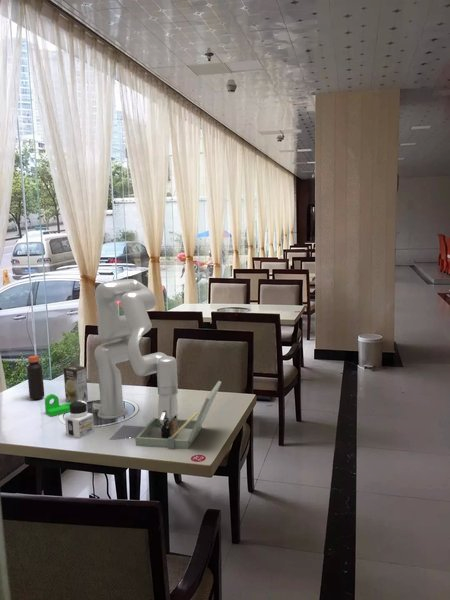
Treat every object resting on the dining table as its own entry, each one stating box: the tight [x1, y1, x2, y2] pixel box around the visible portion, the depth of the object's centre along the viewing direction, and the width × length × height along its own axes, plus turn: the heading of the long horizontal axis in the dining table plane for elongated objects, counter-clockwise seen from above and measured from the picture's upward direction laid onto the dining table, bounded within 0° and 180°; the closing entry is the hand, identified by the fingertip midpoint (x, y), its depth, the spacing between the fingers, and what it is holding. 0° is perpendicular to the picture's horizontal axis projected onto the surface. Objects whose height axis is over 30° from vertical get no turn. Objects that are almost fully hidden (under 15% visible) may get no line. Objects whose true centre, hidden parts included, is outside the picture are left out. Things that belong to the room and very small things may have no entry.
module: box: [163, 417, 179, 439], centre depth 201 cm, size 5×5×8 cm
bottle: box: [26, 355, 45, 400], centre depth 253 cm, size 7×7×20 cm
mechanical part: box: [44, 393, 72, 417], centre depth 234 cm, size 12×6×8 cm, turn 129°
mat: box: [108, 424, 146, 441], centre depth 206 cm, size 11×14×1 cm
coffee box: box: [63, 364, 89, 403], centre depth 246 cm, size 9×6×16 cm
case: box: [134, 380, 222, 450], centre depth 199 cm, size 29×21×20 cm
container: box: [64, 401, 95, 439], centre depth 207 cm, size 8×8×13 cm
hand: (169, 432), depth 202 cm, fingers open, 9 cm apart
